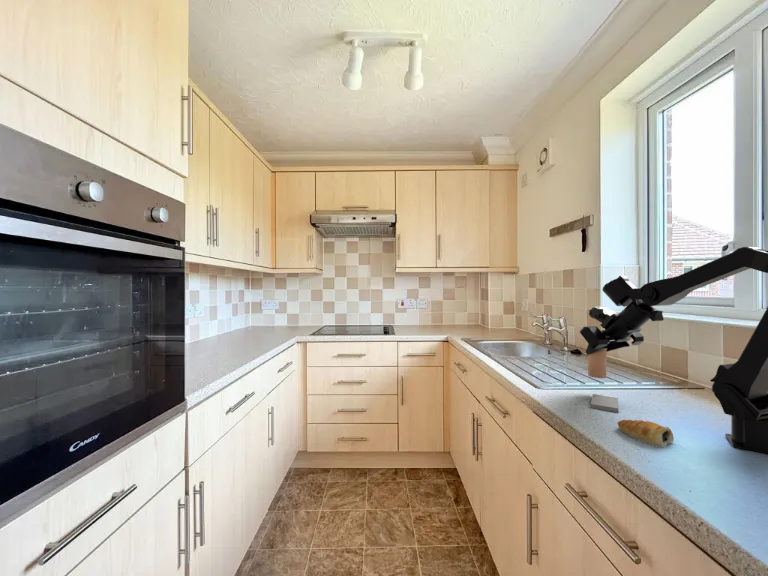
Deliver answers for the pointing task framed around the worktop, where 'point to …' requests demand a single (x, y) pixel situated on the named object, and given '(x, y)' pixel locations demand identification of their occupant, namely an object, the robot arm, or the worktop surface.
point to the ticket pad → (604, 402)
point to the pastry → (647, 432)
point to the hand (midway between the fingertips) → (592, 352)
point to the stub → (598, 364)
